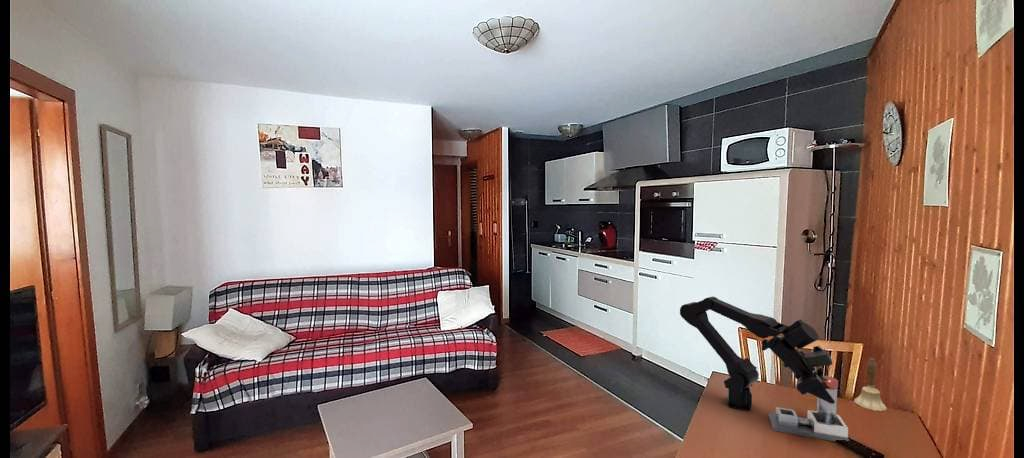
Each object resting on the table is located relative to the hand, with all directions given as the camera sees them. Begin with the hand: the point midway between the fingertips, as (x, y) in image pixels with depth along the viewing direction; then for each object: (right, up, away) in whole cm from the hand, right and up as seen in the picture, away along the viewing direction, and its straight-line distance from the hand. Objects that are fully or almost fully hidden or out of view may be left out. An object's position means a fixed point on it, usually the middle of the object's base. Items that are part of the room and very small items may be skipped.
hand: (833, 399), depth 119 cm
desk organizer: (-5, -10, +3) cm, 12 cm away
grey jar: (-1, -7, +1) cm, 7 cm away
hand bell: (+26, -9, +17) cm, 32 cm away
